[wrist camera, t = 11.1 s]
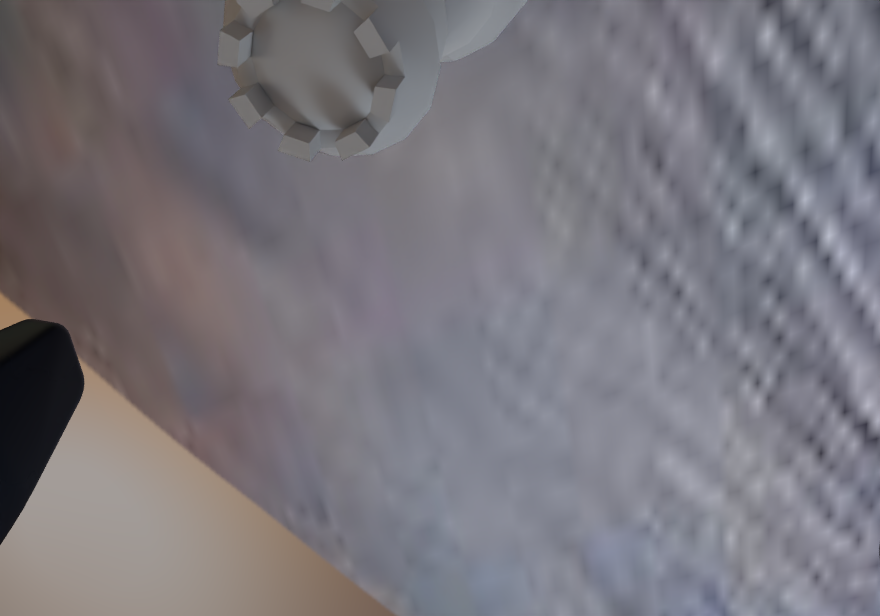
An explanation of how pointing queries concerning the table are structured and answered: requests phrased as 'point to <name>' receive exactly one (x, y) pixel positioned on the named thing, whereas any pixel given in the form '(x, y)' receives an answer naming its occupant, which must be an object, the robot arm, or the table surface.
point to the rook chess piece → (348, 65)
